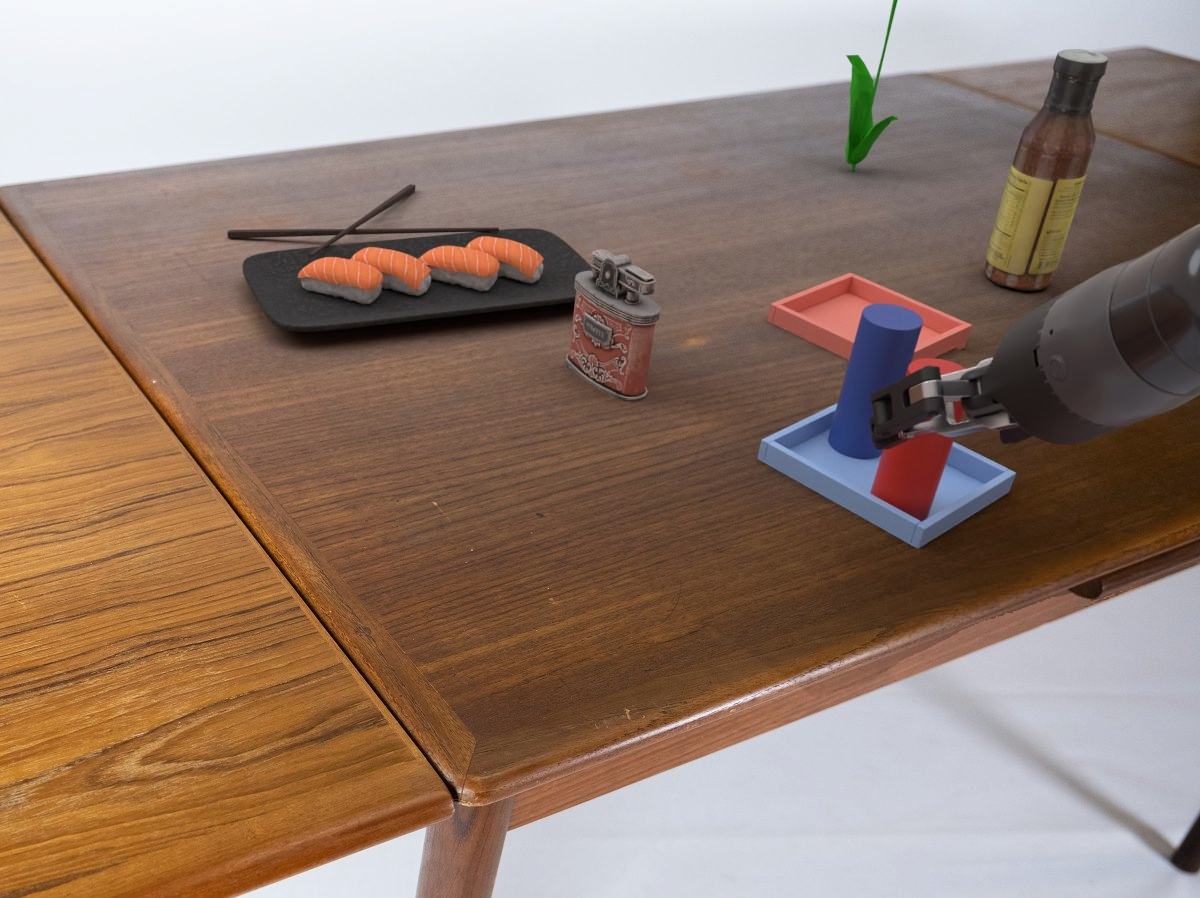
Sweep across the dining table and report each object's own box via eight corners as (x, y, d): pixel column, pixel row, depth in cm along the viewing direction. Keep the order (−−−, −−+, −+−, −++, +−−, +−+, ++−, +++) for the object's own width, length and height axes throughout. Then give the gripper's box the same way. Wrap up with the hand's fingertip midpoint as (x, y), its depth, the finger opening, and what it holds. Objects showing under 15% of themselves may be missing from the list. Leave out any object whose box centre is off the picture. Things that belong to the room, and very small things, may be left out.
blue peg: (895, 448, 91) (935, 319, 85) (862, 465, 89) (901, 335, 83) (849, 424, 94) (885, 297, 87) (816, 441, 91) (850, 312, 85)
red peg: (940, 509, 85) (986, 376, 79) (906, 530, 83) (951, 395, 77) (890, 483, 88) (931, 351, 81) (856, 502, 85) (895, 368, 79)
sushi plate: (276, 354, 98) (275, 308, 95) (196, 206, 119) (193, 166, 117) (616, 313, 107) (622, 270, 105) (485, 183, 129) (487, 145, 126)
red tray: (965, 347, 106) (972, 324, 105) (887, 385, 100) (894, 361, 99) (844, 294, 113) (850, 272, 112) (765, 326, 107) (770, 303, 106)
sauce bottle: (1045, 271, 120) (1124, 50, 108) (1053, 298, 115) (1137, 70, 103) (974, 261, 121) (1044, 40, 109) (979, 287, 116) (1053, 59, 104)
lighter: (554, 366, 99) (568, 243, 93) (588, 356, 101) (604, 234, 94) (621, 412, 94) (640, 285, 88) (656, 401, 96) (677, 276, 89)
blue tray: (1007, 498, 88) (1016, 472, 87) (915, 555, 82) (924, 528, 81) (849, 418, 96) (856, 393, 94) (755, 465, 89) (761, 439, 88)
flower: (905, 173, 139) (990, -141, 121) (870, 190, 134) (953, -134, 116) (835, 151, 143) (907, -156, 125) (798, 167, 138) (868, -150, 120)
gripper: (1226, 276, 65) (1036, 369, 81) (972, 281, 63) (827, 376, 79) (1247, 419, 65) (1051, 484, 80) (991, 430, 62) (841, 495, 78)
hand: (941, 430), depth 80 cm, fingers open, 8 cm apart
